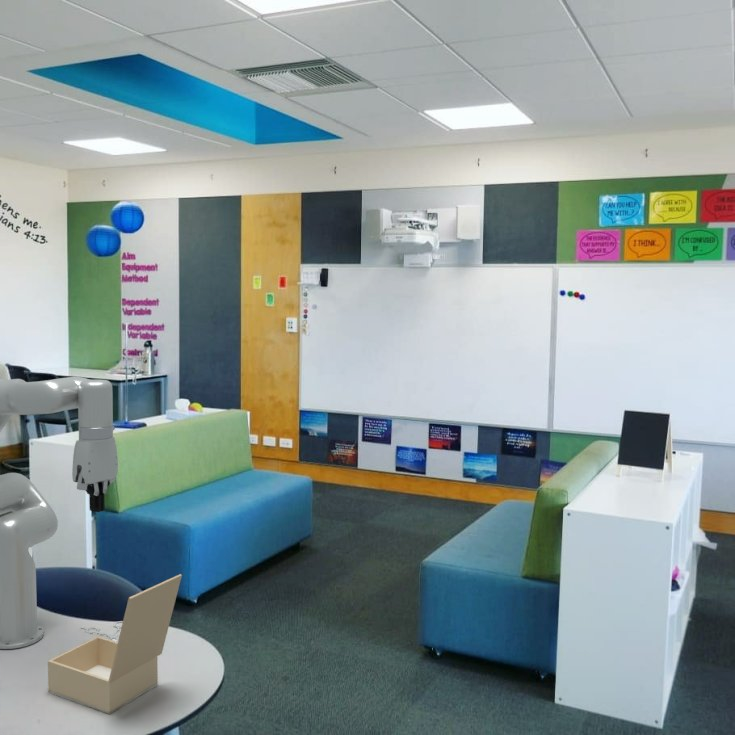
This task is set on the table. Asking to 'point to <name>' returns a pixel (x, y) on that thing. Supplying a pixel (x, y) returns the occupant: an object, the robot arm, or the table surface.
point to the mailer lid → (144, 627)
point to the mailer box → (98, 677)
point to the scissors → (106, 634)
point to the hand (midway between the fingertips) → (97, 510)
